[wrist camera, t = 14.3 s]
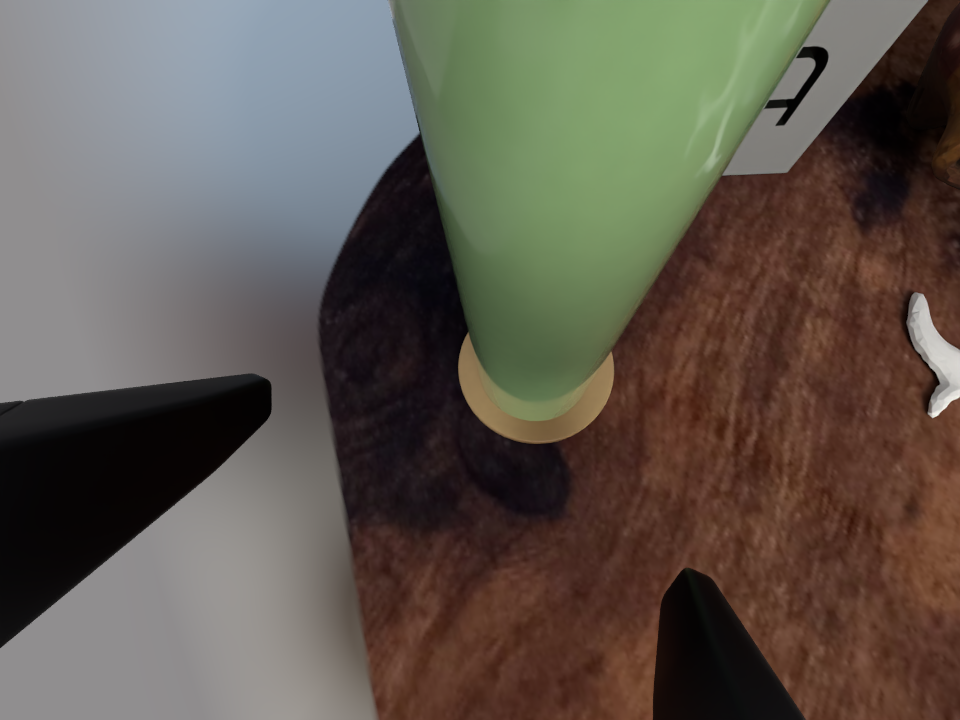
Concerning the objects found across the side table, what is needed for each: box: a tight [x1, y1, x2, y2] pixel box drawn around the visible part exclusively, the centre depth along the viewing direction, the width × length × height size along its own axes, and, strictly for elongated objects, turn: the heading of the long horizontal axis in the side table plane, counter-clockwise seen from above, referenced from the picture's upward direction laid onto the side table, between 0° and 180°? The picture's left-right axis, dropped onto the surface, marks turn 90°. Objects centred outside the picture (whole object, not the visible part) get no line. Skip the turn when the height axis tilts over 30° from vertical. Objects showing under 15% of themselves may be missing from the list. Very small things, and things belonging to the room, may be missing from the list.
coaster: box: [458, 332, 614, 444], centre depth 18 cm, size 7×7×1 cm
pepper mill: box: [388, 0, 832, 421], centre depth 10 cm, size 5×5×17 cm
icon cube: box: [723, 0, 928, 175], centre depth 19 cm, size 10×10×10 cm
